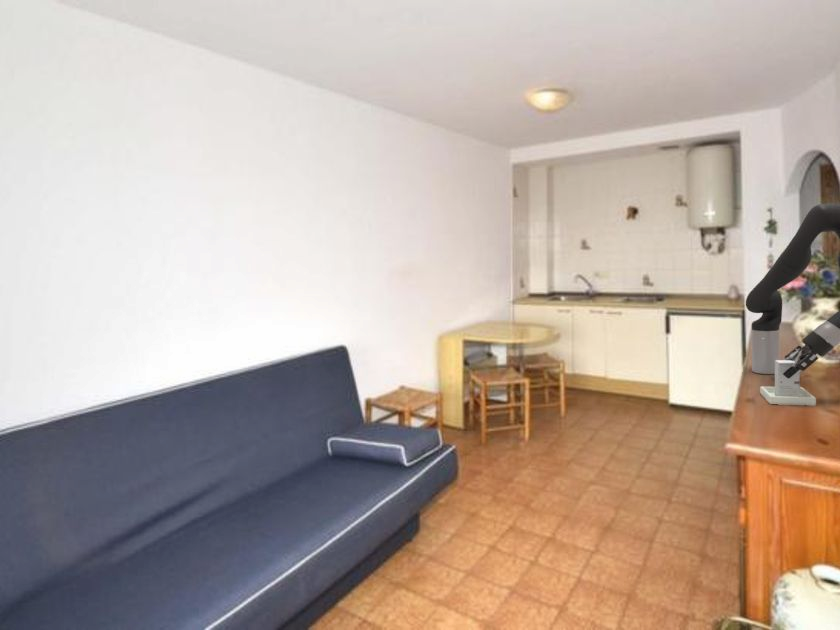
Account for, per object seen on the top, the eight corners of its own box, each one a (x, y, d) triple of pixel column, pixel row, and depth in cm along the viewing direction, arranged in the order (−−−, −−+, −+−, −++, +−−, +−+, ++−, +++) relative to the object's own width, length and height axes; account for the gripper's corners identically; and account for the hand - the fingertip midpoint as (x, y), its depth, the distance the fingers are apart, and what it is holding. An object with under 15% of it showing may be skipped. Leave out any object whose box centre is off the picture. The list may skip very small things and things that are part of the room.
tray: (760, 393, 179) (760, 386, 179) (801, 394, 175) (801, 387, 175) (770, 404, 166) (770, 396, 166) (815, 405, 162) (815, 398, 162)
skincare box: (778, 398, 170) (777, 362, 169) (774, 395, 174) (773, 359, 173) (800, 399, 168) (800, 362, 167) (795, 395, 172) (795, 359, 171)
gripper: (806, 327, 172) (766, 361, 178) (821, 333, 159) (777, 370, 165) (826, 343, 171) (785, 376, 176) (842, 350, 158) (797, 386, 163)
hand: (781, 373), depth 170 cm, fingers open, 8 cm apart
